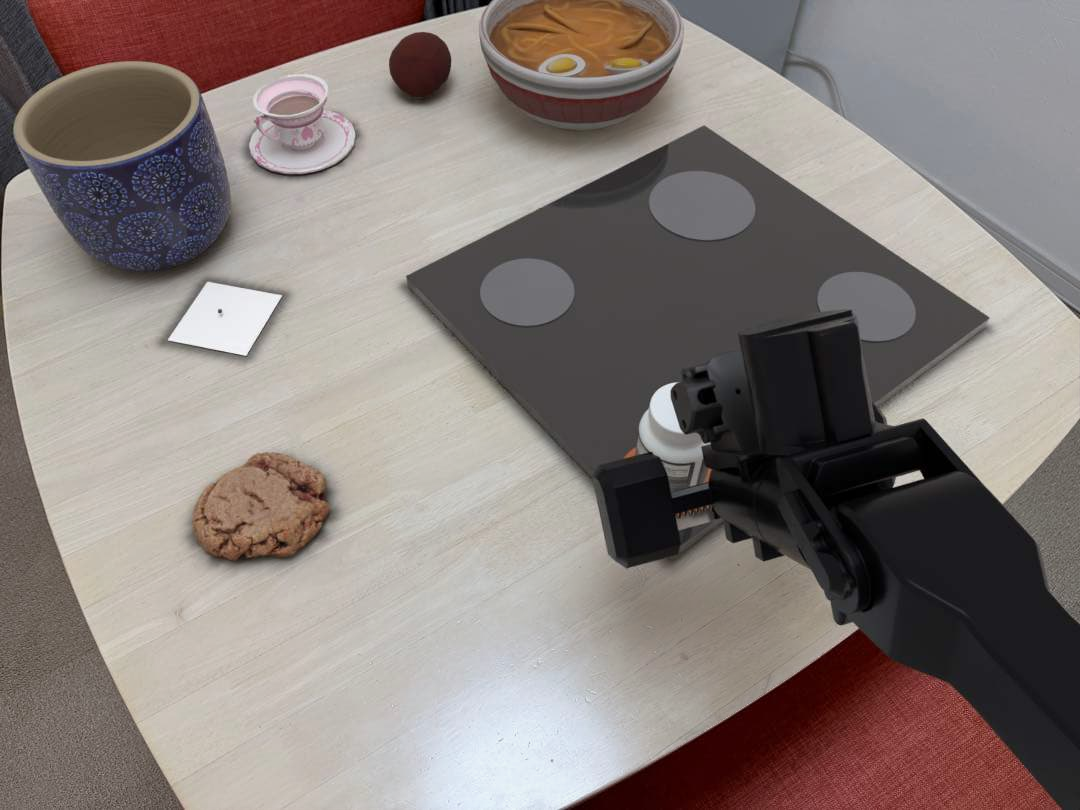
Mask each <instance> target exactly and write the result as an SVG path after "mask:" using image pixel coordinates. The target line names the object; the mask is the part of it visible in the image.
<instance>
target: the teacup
mask: <svg viewBox="0 0 1080 810" xmlns="http://www.w3.org/2000/svg"><path fill="white" fill-rule="evenodd" d="M329 92H330V87H329V85H328V83H327V82H326V81H325V79H323V78H322V77H320V76H317V75H314V74H310V73H294V74H287V75H283V76H280V77H277V78H274V79H272V80H270V81H268V82H266V83H264V84H263V85H262V86H261V87H260V88H258V89H257V91H256V92H255V93H254V95H253V97H252V106H253V108H254V109H255V110H256V111H257V112H259V113H261V114H262V115H260V116H256V118H255V119H254V120H253V123H254V124H255V126H256V129H255V130H254V132H253V133H252V135H251V137H250V140H249V143H248V148H249V151H250V156H251V158H252V159H253V160H254V161H255V162H256V163H257V165H259V166H260V167H262V168H264V169H266V170H268V171H270V172H274V173H279V174H284V175H305V174H309V173H315V172H319V171H322V170H324V169H327V168H329V167H332V166H335V165H336V164H338V163H339V162H340V161H342V160H343V159H344V158H346V157H347V156H348V155H349V154H350V152H351V150H352V149H353V147H354V146H355V142H356V136H357V135H356V131H355V129H354V126H353V123H351V122H350V120H348V119H347V118H346V117H345V116H344V115H341V114H339V113H337V112H335V111H332V110H328V109H324V106H325V105H326V103H327V100H328V95H329Z"/></svg>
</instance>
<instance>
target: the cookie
mask: <svg viewBox="0 0 1080 810" xmlns="http://www.w3.org/2000/svg"><path fill="white" fill-rule="evenodd" d="M326 496H327V480H326V477H325V475H324V474H323V473H322V472H321V470H318V469H316V468H314V467H312V466H310V465H307V464H306V463H303V462H300V461H299V459H297V458H295V457H292V456H290V455H288V454H285V453H282V452H281V453H280V452H267V451H266V452H265V451H264V452H262V453H260V452H256V453H255V454H252V455H251V457H249V458H248V460H247V461H246V462H245V463H244V464H243V465H242V466H238V467H235V468H232V470H229V471H228V472H226V473H224V474H222V475H221V476H220V477H219V478H218V479H217V480H216V482H213V483H211V484H208V486H206V487H205V489H204V490H203V491H202V493H201V494H200V495H199V496H198V499H197V500H196V502H195V504H194V510H193V515H192V522H191V523H192V530H193V533H194V536H195V538H196V540H197V541H198V543H199V544H200V545H201V547H202V548H203V549H204V550H205V551H206V552H207V553H208V554H211V555H212V556H213V557H214V556H215V557H220V558H226V559H227V560H229V561H238V559H239V557H241V556H243V555H244V558H245V559H246V560H247V559H250V558H253V557H255V558H257V557H259V556H267V555H268V556H269V555H272V556H273V557H274V556H275V557H277V558H283V557H289V556H293V555H295V554H296V553H297V551H299V550H300V549H302V548H304V547H305V546H306V544H307V543H308V542H309V541H311V540H312V539H313V538H315V536H316V535H317V533H319V532H320V530H321V529H322V527H323V525H324V522H323V521H324V520H326V519H327V515H328V514H330V511H331V507H330V505H329V503H328V502H327V501H326V499H325V497H326Z"/></svg>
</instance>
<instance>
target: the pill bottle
mask: <svg viewBox="0 0 1080 810" xmlns="http://www.w3.org/2000/svg"><path fill="white" fill-rule="evenodd" d="M677 383H679V382H677ZM675 384H676V383H670V384H667V385H665V386H663V387H661V388H660V389H658V390H657V391H656V392H655V393H654V395H653V396H652V398H651V401H650V406H649V409H648V410H647V411H646V412H645V413H644V415H643V417H642V419H641V421H640V424H639V428H638V437H637V444H636V452H635V456H636V455H640V454H644V453H648V452H653V454H654V455H657V456H659V457H660V459H661V461H662V463H663V466H664V468H665V470H666V472H667V475H668V480H669V485H670V490H671V491H675V490H679V489H683V488H686V487H690V486H694V485H698V484H702V483H705V480H706V476H707V472H708V468H707V467H705V464H704V459H703V454H702V449H701V446H704V445H708V444H710V443H706V444H704V443H703V441H702V439H701V437H700V435H699V434H698V433H691V434H687V435H686V434H684V433H683V432H682V431H681V429H680V426H679V423H678V420H677V417H676V414H675V410H674V407H673V404H672V401H671V395H670V391H671V389H672V387H673V386H674V385H675Z"/></svg>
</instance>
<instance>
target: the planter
mask: <svg viewBox="0 0 1080 810" xmlns="http://www.w3.org/2000/svg"><path fill="white" fill-rule="evenodd" d="M12 129H13V130H12V131H13V138H14V142H15V143H16V146H17V148H18V150H19V152H20V155H21V156H22V158H23V160H24V162H25V164H26V166H27V167H28V169H29V171H30V173H31V174H32V176H33V178H34V181H35V182H36V184H37V185H38V187H39V189H40V190H41V192H42V195H43V196H44V197H45V199H46V201H47V202H48V204H49V206H50V208H51V209H52V211H53V212H54V214H55V216H56V217H57V219H58V220H59V222H60V223H61V224H62V226H63V227H64V229H65V230H66V232H67V233H68V234H69V236H70V237H71V238H72V240H73V241H74V242H75V243H76V244H77V245H78V246H79V247H80V248H81V249H82V250H83V251H84V252H85V253H87V254H88V255H90V256H91V257H93V258H94V259H97V260H98V261H100V262H102V263H104V264H106V265H109V266H111V267H114V268H119V269H122V270H128V271H134V272H153V271H154V272H156V271H161V270H162V271H163V270H166V269H171V268H173V267H177V266H180V265H183V264H184V263H187V262H189V261H192V260H194V259H196V257H198V256H199V255H201V254H202V253H204V252H206V250H207V249H209V248H210V247H211V246H212V245H213V244H214V243H215V242H216V240H217V239H218V237H219V236H220V235H221V233H222V232H223V229H224V228H225V226H226V224H227V221H228V218H229V215H230V211H231V206H232V196H231V195H232V193H231V192H232V191H231V186H230V185H231V184H230V181H229V175H228V171H227V168H226V164H225V161H224V156H223V154H222V150H221V146H220V143H219V141H218V137H217V134H216V132H215V131H216V130H215V129H214V125H213V123H212V120H211V117H210V115H209V111H208V109H207V106H206V103H205V100H204V98H203V96H202V93H201V91H200V89H199V87H198V85H197V84H196V82H195V81H194V80H193V79H192V78H191V77H190V76H189V75H187V74H186V73H184V72H183V71H181V70H179V69H177V68H174V67H172V66H169V65H166V64H163V63H162V64H161V63H157V62H152V61H151V62H150V61H138V60H137V61H136V60H135V61H134V60H133V61H132V60H128V61H116V62H107V63H102V64H97V65H92V66H88V67H85V68H82V69H79V70H75V71H72V72H71V73H68V74H66V75H64V76H61V77H59V78H56V79H54V80H53V81H52V82H50V83H48V84H46V85H45V86H43V87H42V88H40V89H39V90H38V91H36V92H35V93H33V95H32V96H30V97H29V98H28V99H27V100H26V101H25V103H24V104H23V105H22V107H21V108H20V109H19V111H18V113H17V114H16V116H15V119H14V123H13V128H12Z"/></svg>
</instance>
